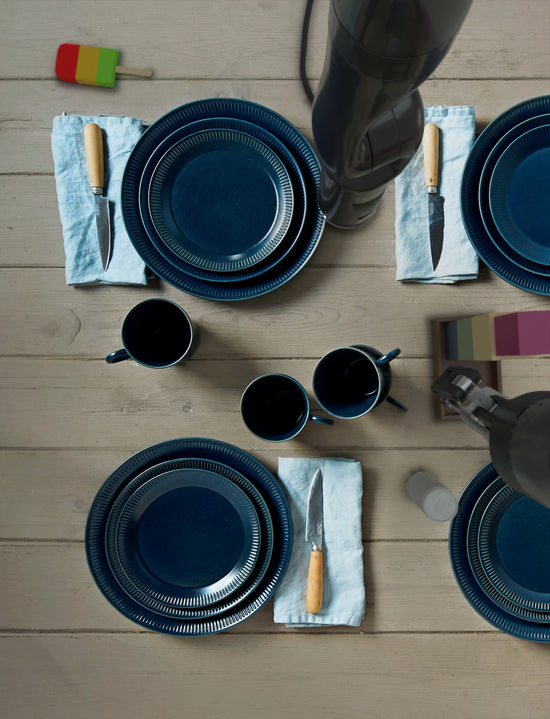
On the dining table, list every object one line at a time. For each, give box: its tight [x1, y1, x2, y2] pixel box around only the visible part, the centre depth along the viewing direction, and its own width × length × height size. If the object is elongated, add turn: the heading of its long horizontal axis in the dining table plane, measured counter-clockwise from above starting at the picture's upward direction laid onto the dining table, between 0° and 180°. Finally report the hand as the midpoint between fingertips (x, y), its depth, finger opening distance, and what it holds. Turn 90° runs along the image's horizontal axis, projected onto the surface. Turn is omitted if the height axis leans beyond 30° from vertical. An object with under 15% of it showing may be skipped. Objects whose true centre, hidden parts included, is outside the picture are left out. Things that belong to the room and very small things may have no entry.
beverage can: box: [405, 470, 459, 524], centre depth 81 cm, size 5×5×12 cm
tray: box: [430, 315, 503, 421], centre depth 86 cm, size 15×9×3 cm, turn 3°
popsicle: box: [54, 42, 153, 89], centre depth 88 cm, size 6×15×2 cm, turn 82°
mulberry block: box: [494, 309, 550, 356], centre depth 63 cm, size 5×5×7 cm
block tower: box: [444, 309, 541, 361], centre depth 76 cm, size 6×6×20 cm
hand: (485, 426), depth 52 cm, fingers open, 8 cm apart
